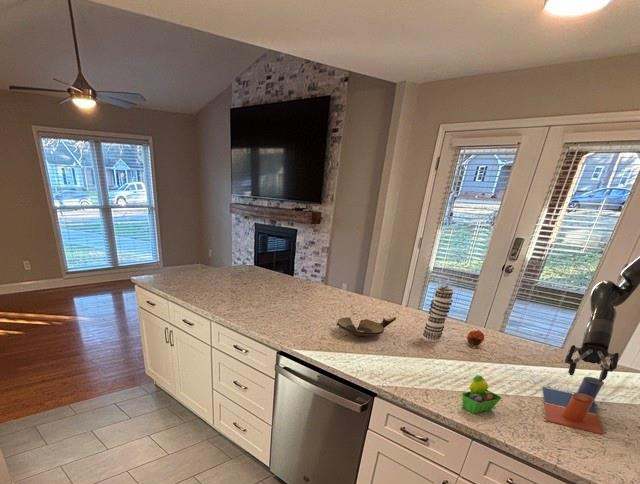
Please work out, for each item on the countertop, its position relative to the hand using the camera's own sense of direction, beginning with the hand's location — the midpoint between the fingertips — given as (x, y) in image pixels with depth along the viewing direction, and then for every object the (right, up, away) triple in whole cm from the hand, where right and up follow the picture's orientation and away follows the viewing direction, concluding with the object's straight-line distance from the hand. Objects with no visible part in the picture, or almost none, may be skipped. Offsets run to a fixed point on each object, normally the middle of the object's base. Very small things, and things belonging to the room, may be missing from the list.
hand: (586, 377), depth 141 cm
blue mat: (+3, -7, +12) cm, 14 cm away
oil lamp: (-59, +30, +64) cm, 92 cm away
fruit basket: (-36, -10, +5) cm, 37 cm away
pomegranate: (-8, +23, +58) cm, 63 cm away
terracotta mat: (-4, -14, +1) cm, 15 cm away
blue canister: (+9, -7, +12) cm, 16 cm away
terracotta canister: (-4, -14, 0) cm, 14 cm away
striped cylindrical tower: (-27, +27, +63) cm, 73 cm away
